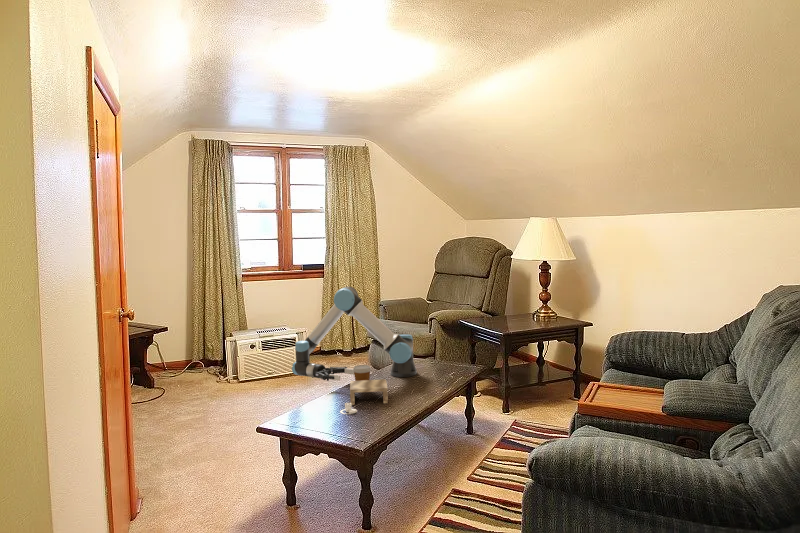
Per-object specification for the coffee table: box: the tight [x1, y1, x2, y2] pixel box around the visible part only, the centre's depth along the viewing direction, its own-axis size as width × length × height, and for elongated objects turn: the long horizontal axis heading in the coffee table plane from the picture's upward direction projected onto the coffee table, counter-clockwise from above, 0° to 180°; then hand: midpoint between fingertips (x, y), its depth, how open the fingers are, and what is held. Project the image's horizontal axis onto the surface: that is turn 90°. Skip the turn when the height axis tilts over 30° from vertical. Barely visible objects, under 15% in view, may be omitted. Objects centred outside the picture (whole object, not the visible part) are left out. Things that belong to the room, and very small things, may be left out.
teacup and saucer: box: [339, 402, 358, 415], centre depth 261 cm, size 9×8×4 cm
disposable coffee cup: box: [352, 364, 372, 381], centre depth 297 cm, size 10×10×12 cm
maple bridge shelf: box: [349, 378, 389, 406], centre depth 280 cm, size 18×16×8 cm
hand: (347, 375), depth 302 cm, fingers open, 13 cm apart
